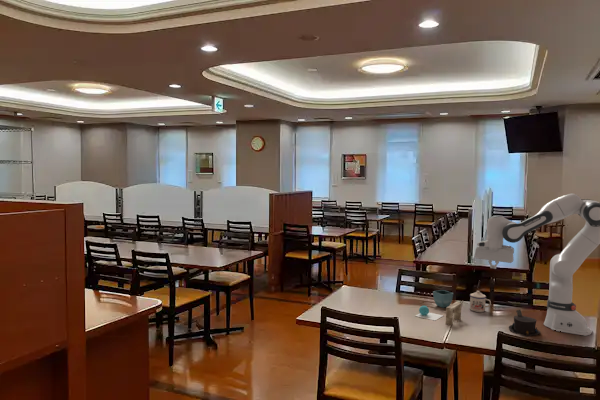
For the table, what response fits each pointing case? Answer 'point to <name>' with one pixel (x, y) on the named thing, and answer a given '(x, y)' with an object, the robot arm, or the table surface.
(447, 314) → the bridge
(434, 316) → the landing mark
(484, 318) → the table surface
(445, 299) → the flower pot
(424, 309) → the ball
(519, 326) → the top hat
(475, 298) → the teacup with lid
